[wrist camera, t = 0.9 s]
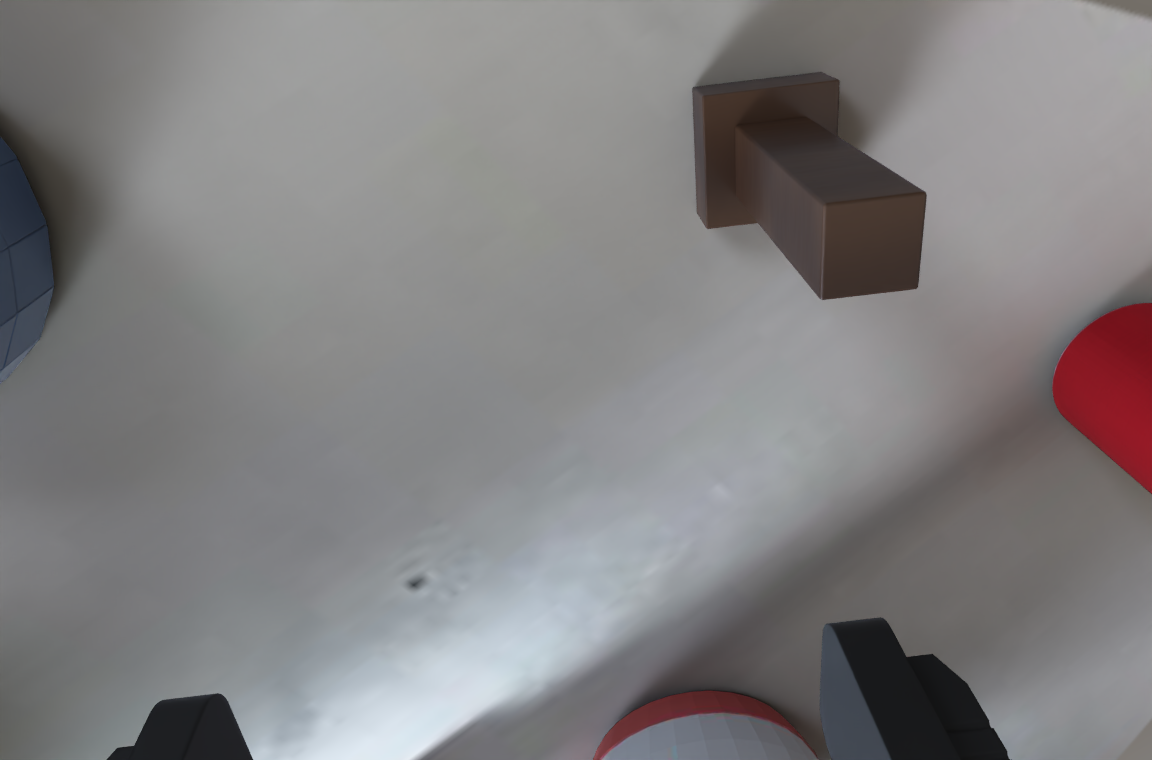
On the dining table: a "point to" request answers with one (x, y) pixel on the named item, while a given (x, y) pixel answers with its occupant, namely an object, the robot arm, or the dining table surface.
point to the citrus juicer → (704, 731)
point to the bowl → (21, 265)
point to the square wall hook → (805, 185)
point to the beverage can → (1112, 387)
